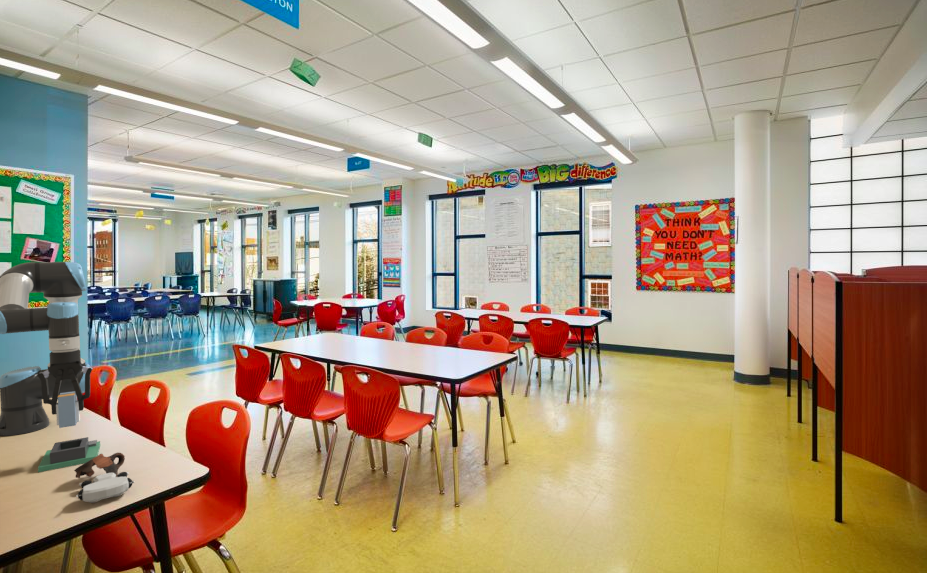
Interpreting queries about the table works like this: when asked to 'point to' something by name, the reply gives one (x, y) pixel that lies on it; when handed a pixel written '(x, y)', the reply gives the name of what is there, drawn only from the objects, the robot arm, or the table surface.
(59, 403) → the plug
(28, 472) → the table surface
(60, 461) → the circuit board
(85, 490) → the robot toy
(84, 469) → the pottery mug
